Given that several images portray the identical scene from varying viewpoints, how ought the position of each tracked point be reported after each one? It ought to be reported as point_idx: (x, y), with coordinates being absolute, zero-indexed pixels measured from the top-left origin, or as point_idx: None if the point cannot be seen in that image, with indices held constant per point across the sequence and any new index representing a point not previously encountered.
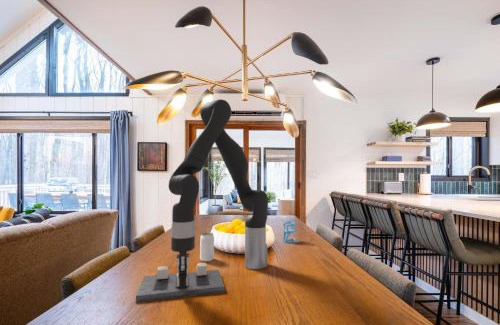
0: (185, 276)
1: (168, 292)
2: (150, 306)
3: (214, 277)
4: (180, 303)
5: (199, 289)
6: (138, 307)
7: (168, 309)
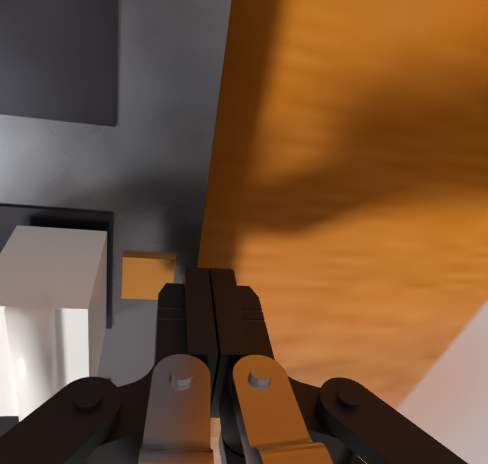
0: (371, 406)
1: None
2: None
3: None
4: (297, 259)
5: (217, 105)
6: None
7: (342, 327)
